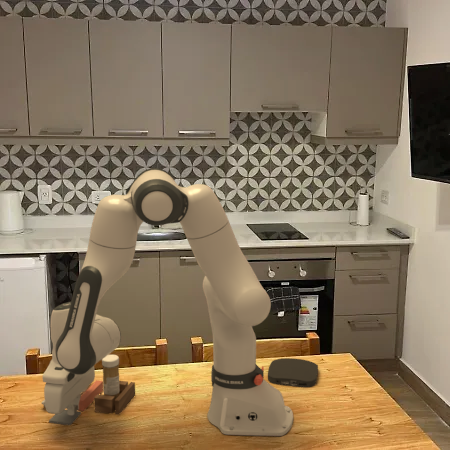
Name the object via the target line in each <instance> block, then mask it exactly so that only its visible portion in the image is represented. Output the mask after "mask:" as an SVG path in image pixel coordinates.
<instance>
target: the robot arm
mask: <svg viewBox="0 0 450 450" xmlns="http://www.w3.org/2000/svg"><path fill="white" fill-rule="evenodd" d="M143 223H145V224H147V225H150V226H163V225H169V224H180V225H181V228H182V230H183V232H184V234H185V238H186V240H187V242H188V244H189V247H190V248H191V251H192V253H193V255H194V258H195V260H196V263H197V264H198V266H199V268H200V269H201V271H202V273H203V274H204V277H203V280H202V291H203V293H204V296H205V298H206V300H205V301H206V304H207V312H208V315H209V316H208V317H209V322H210V327H211V332H212V333H211V334H212V345H213V347H212V350H213V352H212V353H213V355H212V356H213V359H212V360H213V364H212V366H211V371H210V372H211V373H210V374H211V379H210V381H211V387H212V391H211V392H212V393H211V399H210V404H209V409H208V411H207V414H206V416H207V420H208V421H209V422H210V423H211V424H212V425H213V426H215V427H216V428H218V429H219V430H220V432H221V434H224V435H229V436H231V435H232V436H261V437H262V436H263V437H267V436H268V437H270V436H271V437H273V436H274V437H282V436H285V435H286V434H287V433H288V432H289V431H290V430H291V428H292V427H293V422H294V412H293V410H292V408H291V407H290V406H288V405H285V400H284V396H283V394H282V392H281V391H280V390H279V389H277V388H276V387H275V386H273V385H272V384H270V382H269V381H268V380H266V379H264V377H265V376H264V371H265V370H264V369H265V368H264V366H263V365H262V367H261V368H260V366H259V365H257V337H256V333H255V332H254V329H253V327H255V326H258V325H260V324H261V323H263V322H264V321H265V320H266V319H267V318H268V316H269V315H270V314H269V313H270V311H271V306H272V302H271V298H270V296H269V294H268V293H267V291H266V290H265V289H264V287H263V286H262V284H261V283H260V280H259V278H258V277H257V275H256V273H255V271H254V269H253V268H252V266H251V264H250V263H249V261H248V260H247V257H246V256H245V255H244V253H243V252H242V249H241V247H240V245H239V243H238V240H237V238H236V235H235V233H234V230H233V228H232V226H231V224H230V223H231V222H230V221H229V218H228V216H227V213H226V211H225V210H224V208H223V206H222V203H221V201H220V200H219V199H218V197H217V195H216V193H215V192H214V190H213V189H212V188H211V187H210V186H209V185H207V184H203V183H202V184H201V183H196V184H192V185H189V186H183V187H182V186H180V185H178V184H177V183H176V181H175V179H174V177H173V176H172V175H171V173H170V172H168V171H167V170H164V169H163V168H157V167H151V168H147V169H145V170H143V171H142V172H141V173H139V174H138V175H137V176H136V177H135V178H134V180H133V181H132V182H131V184H130V185H129V186H128V187H127V188H126V190H125V194H110V195H107V196H104V197H103V198H102V199H101V200H99V202H98V204H97V207H96V210H95V212H94V215H93V220H92V223H91V228H90V232H89V233H90V234H89V239H88V240H89V241H88V244H87V245H88V246H87V250H86V253H85V258H84V262H83V264H82V266H81V269H80V272H79V273H78V276H77V280H76V282H75V285H74V289H73V292H72V297H71V300H70V301H68V302H64V303H61V304H59V305H57V306H55V307H54V308H53V309H52V312H51V316H50V326H49V327H50V339H51V343H52V349H51V357H52V359H50V361H49V364H48V366H47V368H46V369H45V371H44V372H43V374H42V382H43V383H45V384H44V388H43V391H44V393H43V394H44V395H43V396H44V400H45V407H44V408H45V411H46V412H47V413H48V414H54V415H55V414H61V413H62V412H63V411H64V410H67V414H68V415H74V414H75V413H76V412H77V411H78V412H79V401H80V397H81V395H82V394H83V393H84V392H83V391H84V390H85V389H86V388H87V387H88V388H89V387H90V386H91V385H92V384H93V383H94V382H95V378H96V371H95V365H96V364H98V363H99V362H100V361H102V359H103V358H105V357H106V356H107V355H111V353H113V352H114V351H115V350H116V349H117V348H119V347H120V344H121V342H122V333H121V332H122V331H121V329H120V326H118V324H117V323H116V321H115V320H114V319H112V318H110V317H108V316H103V315H99V314H97V312H98V309H99V305H100V303H101V300H102V298H103V297H104V295H105V294H106V292H108V290H109V289H110V288H111V287H112V286H113V285H114V284H115V283H116V282H118V281H119V280H120V279H121V278H122V277H123V276H124V275H126V273H127V272H128V271H129V270H130V268H131V265H132V262H133V260H134V257H135V252H136V248H137V239H138V234H139V230H140V227H141V225H142V224H143ZM88 388H87V389H88Z"/></svg>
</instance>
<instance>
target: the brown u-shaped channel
mask: <svg viewBox="0 0 450 450" xmlns="http://www.w3.org/2000/svg"><path fill="white" fill-rule="evenodd" d="M119 388H120V391H119V396H118V397H117V398H116V399H115V396H107V395H104V394H100V395H99V394H97V395H96V396H95V397H94V401H93V402H94V412H96V413H104V414H110V415H113V413H114V415H117V416H119V415H121V413H122V412H123V411H124V410H125V409H126V407H127V406H128V405H129V404H130V402H131V401H132V400H133V399H134V398H135V397H136V382H134V381H130V382H129V381H127V380H126V381H125V380H119ZM134 396H135V397H134Z"/></svg>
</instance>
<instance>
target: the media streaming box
mask: <svg viewBox="0 0 450 450" xmlns="http://www.w3.org/2000/svg"><path fill="white" fill-rule="evenodd" d="M318 373H319V365H318V364H317V363H315V362H313V361H310V360H307V359H302V358H293V357H292V358H290V357H289V358H288V357H284V358H277V359H274V360H272V361H271V362H270V364H269V367H268V370H267V382H268V383H271V384H273V385H278V386H287V387H296V388H312V387H314V386H315V385H316V384H317V381H318V375H319V374H318Z"/></svg>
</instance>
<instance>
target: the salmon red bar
mask: <svg viewBox="0 0 450 450" xmlns="http://www.w3.org/2000/svg"><path fill="white" fill-rule="evenodd" d="M102 391H103V380H97V379H96V380H94V381H93V382H92V383H91V384H90V385H89V386H88V388H87V390H86V391H85V392H82V393H81V397H80V401H79V410H78V412H84V411H86V409H88V408H89V407H90V406H91V404H92V403H93V402H94V397H95V396H96V395H97V394H100V393H101V392H102ZM103 392H104V391H103ZM103 392H102V393H103ZM102 393H101V394H102ZM101 394H100V395H101Z"/></svg>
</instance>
